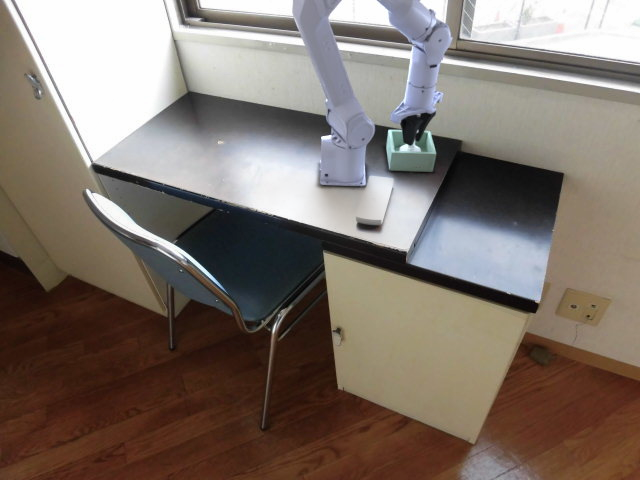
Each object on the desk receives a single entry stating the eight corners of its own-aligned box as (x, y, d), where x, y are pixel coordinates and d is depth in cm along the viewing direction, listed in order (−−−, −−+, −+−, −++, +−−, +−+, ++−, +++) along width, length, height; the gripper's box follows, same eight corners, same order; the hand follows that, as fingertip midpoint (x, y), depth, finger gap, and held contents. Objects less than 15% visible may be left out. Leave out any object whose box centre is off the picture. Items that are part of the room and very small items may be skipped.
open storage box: (389, 170, 103) (391, 152, 100) (386, 147, 110) (388, 129, 107) (432, 171, 103) (436, 153, 100) (426, 148, 110) (430, 130, 106)
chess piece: (397, 146, 107) (403, 105, 100) (419, 147, 107) (427, 106, 100) (399, 158, 103) (406, 117, 96) (422, 159, 103) (430, 117, 96)
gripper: (414, 100, 88) (404, 161, 97) (459, 77, 95) (446, 137, 105) (385, 87, 92) (378, 147, 101) (431, 66, 99) (421, 124, 108)
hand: (411, 141), depth 103 cm, fingers closed on chess piece
